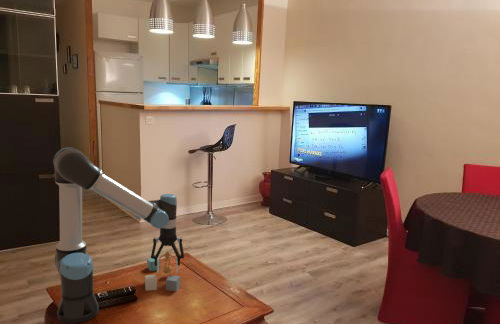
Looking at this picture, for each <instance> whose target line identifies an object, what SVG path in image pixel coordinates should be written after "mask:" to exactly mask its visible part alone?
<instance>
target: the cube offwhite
mask: <svg viewBox="0 0 500 324" xmlns="http://www.w3.org/2000/svg"><path fill="white" fill-rule="evenodd" d="M157 281H158V278H157V274H148V275H147V274H146V275H144V287H145V288H144V289H145V292H146V291H147V292H148V291H157V290H158V282H157Z"/></svg>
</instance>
